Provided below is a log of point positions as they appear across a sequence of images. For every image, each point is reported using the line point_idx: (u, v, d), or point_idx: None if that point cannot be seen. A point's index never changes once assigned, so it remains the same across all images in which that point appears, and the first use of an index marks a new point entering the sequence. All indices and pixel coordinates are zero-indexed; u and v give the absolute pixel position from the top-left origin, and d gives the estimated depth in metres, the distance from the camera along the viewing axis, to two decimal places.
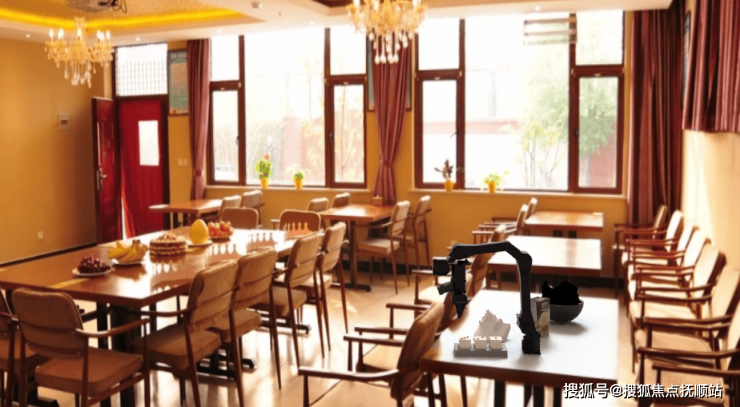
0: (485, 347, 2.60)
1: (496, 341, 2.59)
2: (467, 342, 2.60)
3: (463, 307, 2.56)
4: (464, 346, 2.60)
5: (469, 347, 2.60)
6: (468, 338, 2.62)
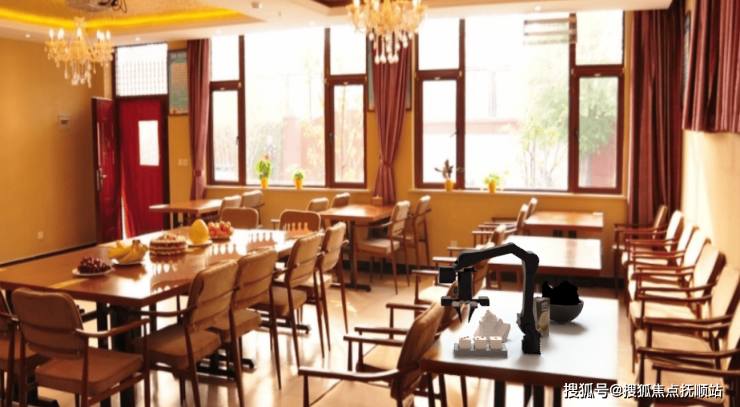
0: (485, 347, 2.60)
1: (496, 341, 2.59)
2: (467, 342, 2.60)
3: (457, 312, 2.60)
4: (464, 346, 2.60)
5: (469, 347, 2.60)
6: (468, 338, 2.62)
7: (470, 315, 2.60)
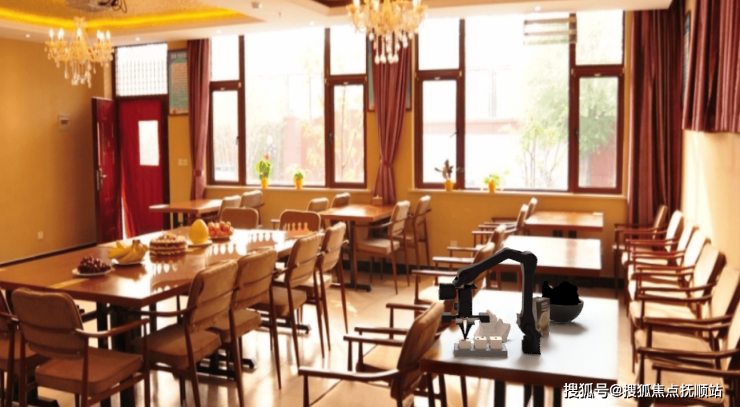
0: (485, 347, 2.60)
1: (496, 341, 2.59)
2: (467, 343, 2.60)
3: (460, 328, 2.60)
4: (464, 348, 2.60)
5: (469, 348, 2.60)
6: (468, 339, 2.62)
7: (467, 331, 2.60)
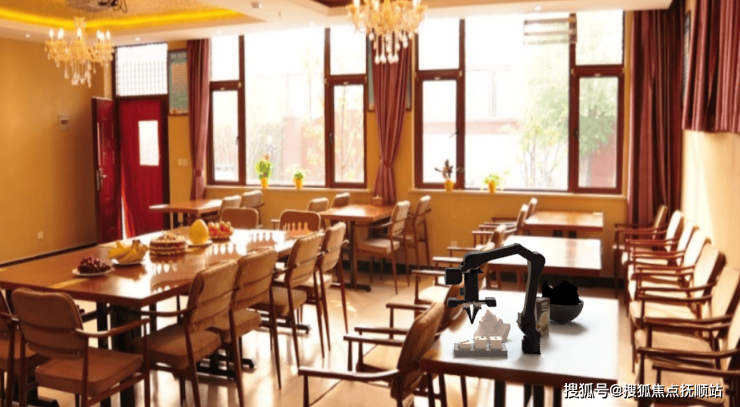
0: (485, 347, 2.60)
1: (496, 341, 2.59)
2: (467, 346, 2.60)
3: None
4: None
5: None
6: (468, 342, 2.62)
7: (474, 316, 2.59)
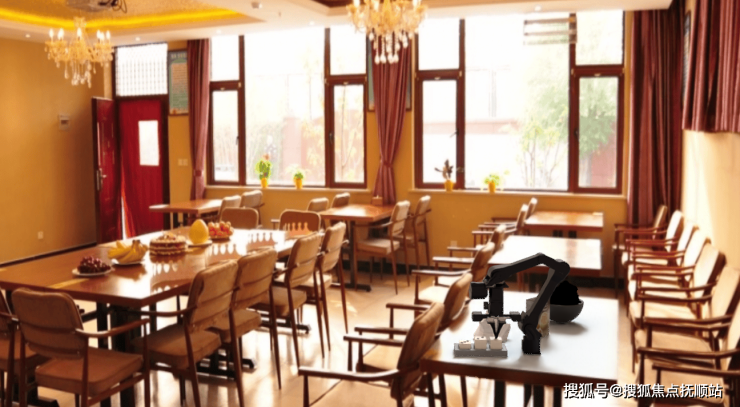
0: (485, 347, 2.60)
1: (496, 341, 2.59)
2: (467, 346, 2.60)
3: (492, 327, 2.60)
4: None
5: None
6: (468, 342, 2.62)
7: (498, 330, 2.59)
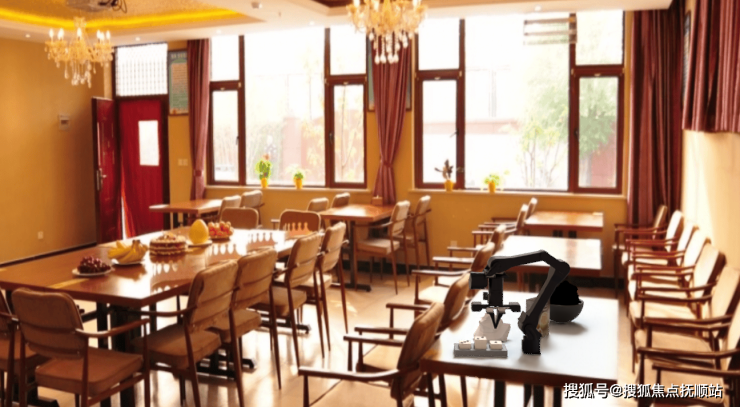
0: (485, 347, 2.60)
1: (496, 345, 2.59)
2: (467, 346, 2.60)
3: (491, 317, 2.59)
4: None
5: None
6: (468, 342, 2.62)
7: (497, 321, 2.59)
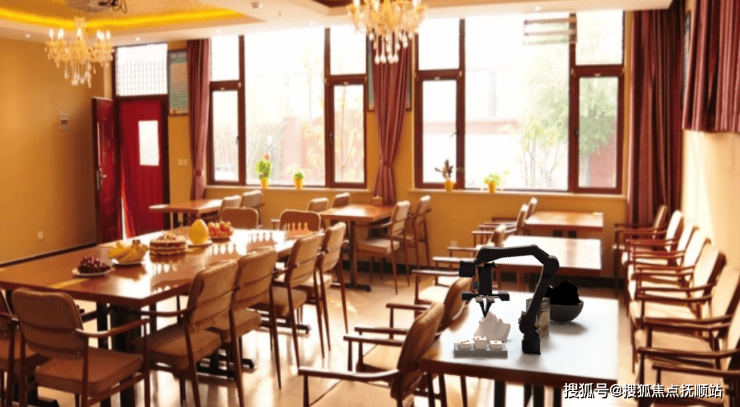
0: (485, 347, 2.60)
1: (496, 345, 2.59)
2: (467, 346, 2.60)
3: (480, 306, 2.63)
4: None
5: None
6: (468, 342, 2.62)
7: (487, 310, 2.63)
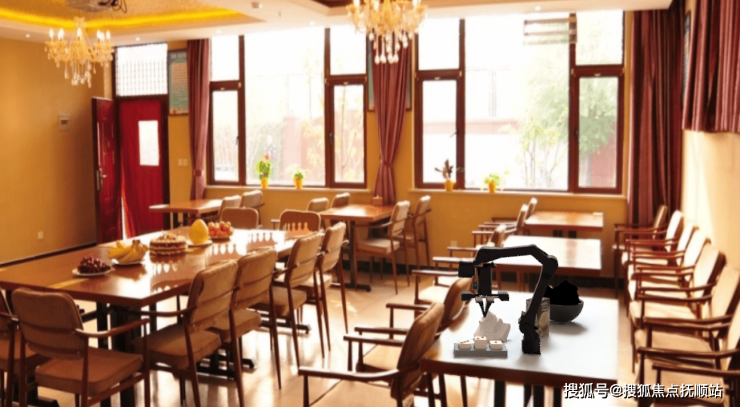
0: (485, 347, 2.60)
1: (496, 345, 2.59)
2: (467, 346, 2.60)
3: (480, 306, 2.64)
4: None
5: None
6: (468, 342, 2.62)
7: (486, 310, 2.63)
